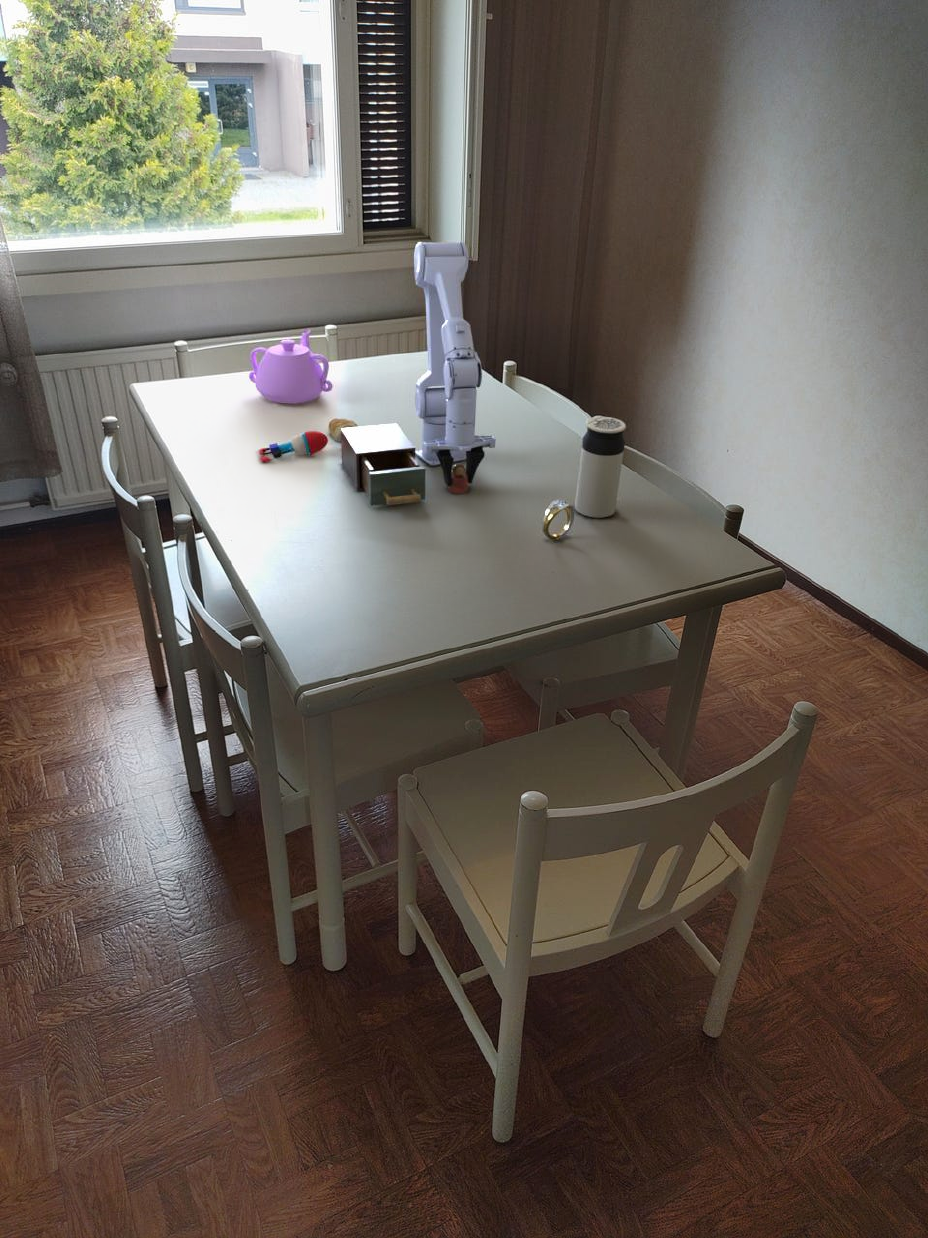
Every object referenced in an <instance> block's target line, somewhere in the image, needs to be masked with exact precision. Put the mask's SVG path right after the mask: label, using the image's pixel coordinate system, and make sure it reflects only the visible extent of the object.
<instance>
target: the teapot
mask: <svg viewBox="0 0 928 1238" xmlns="http://www.w3.org/2000/svg"><path fill="white" fill-rule="evenodd" d="M310 335H311V328H306V329H305V330H303V332H302V335H301V337H300V343H299V344H298V343H297V344H296V340H294V339H289V338H288V339H287V338H286V339H282V340H281V341H280V344H275V345H273V346H269V348H265V347H256V348H254V349H253V350H251V352H250V355H249V359H250V364H251V367H252V371H250V372H249V374H248V379H249V381H251V382H252V383H253V384H255V388H256V390H257V391H258V393H260V395H261V396H262V397H263V398H264V399H266V400H267V401H270V402H274V403H278V404H302V403H307V402H311V401H313V400H315V399H317V398H318V397H319V396H320V395H321V394H322V393H323V392H325V393H327V392H330V391H332V389H333V383H332V382H331V380H329V379H327V378H328V374H329V369H330V368H329V367H330V365H329V364H330V363H329V360H328V358H327V357H325V356H324V355H323V354H320V353H313V352H312V351H311V347H310V346H311V345H310ZM257 353H261V354H263V356H262V358H261V360H260V362H259V364H258V362H257ZM319 361H320V362H321V364H322V366H321V364H320V362H319Z"/></svg>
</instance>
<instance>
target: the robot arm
mask: <svg viewBox="0 0 928 1238" xmlns="http://www.w3.org/2000/svg"><path fill="white" fill-rule="evenodd" d="M413 254H414V255H413V260H414V261H413V265H414V266H413V267H414V281H415V286H417V287H420V288H421V289H423V293H424V297H425V298H424V299H425V315H426V316H425V318H426V319H425V322H426V343H427V344H426V346H427V371H426V373H424V374H423V375H422V376H421V377H419V378H418V380H417V381H416V384H415V393H414V408H415V412H416V415H417V417H419V419H422V429H421V430H422V434H421V435H422V436H421V437H422V438H421V439H422V440H421V449H419V450H418V449H417V450H415V456H417V457H419V458H420V459H421V460H422V461H424V463H426V464H427V465H428V466H430V467H435V466H438V465H439V466H441V467H440V468H441V470H442V474H443V480H444V484H445V485H446V487H448V486H451V482H452V474H451V473H452V472H453V466H454V465H453V464H454V463H455V462H460V461H466V462H465V463H466V464H465V472H466V473H467V474H468V475H469V477H468V485H472V484H473V481H474V478H475V476H476V472H477V469H478V468H479V466H480V465H481V462H482V461H483V459H484V458H485V455H486V454H485V453H486V452H485V450H484V448H489V449H495V448H496V440H497V439H496V438H495V437H494V436H493V435H476V434H475V433H476V417H477V414H476V413H477V395H478V393H477V392H478V389H477V388H480V387H481V385H482V382H483V369H482V362H481V359H480V357H479V355H478V352H477V351H475V347H474V341H473V335H472V329H471V324H470V323H469V322H468V321H467V320H465V319H464V313H463V311H464V310H463V298H462V285H461V284H462V282H464V280H465V277H466V273H467V271H468V268H469V250H468V246H467V245H466V243H465V242H464V241H459V242H457V241H456V242H451V241H450V242H445V241H444V242H423V241H418V242H417V244H416V245H415V248H414V253H413Z"/></svg>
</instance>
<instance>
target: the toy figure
mask: <svg viewBox="0 0 928 1238" xmlns="http://www.w3.org/2000/svg"><path fill="white" fill-rule="evenodd" d="M328 442H329V438H328V435H326V434H325V433H323V432H321V431H317V430H308V431H304V433H303V432H302V433H301V434H296V435H294V436H293V437H292V438H291V441H289V442H284V443H281V444H278V443H277V442H275V443H270V444H268V446H269V447H262V448H260V449H259V450H258V454H259V455H260V460H261V463H267V462H270V461H272V460H273V458H274V459H281V458H282V456H283V455H286V454H289V453H295V454H296V455H301V456H302V455H310V456H311V455H314V454H317V453H319V452H320V451H321V452H322V450H324V449H325V448H326V446H327V445H328ZM267 455H272V456H273V458H270V457H268V456H267Z"/></svg>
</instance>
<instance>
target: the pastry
mask: <svg viewBox="0 0 928 1238" xmlns="http://www.w3.org/2000/svg"><path fill="white" fill-rule="evenodd" d="M351 427H360V426H359V425H358V424H357V423H356V422H355V421H354V420H351V419H347V418H333V419H331V420H330V421H328V432H329V434H330V435H331V438H332V439H334V441H336V442H339V443H341V428H351Z"/></svg>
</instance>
